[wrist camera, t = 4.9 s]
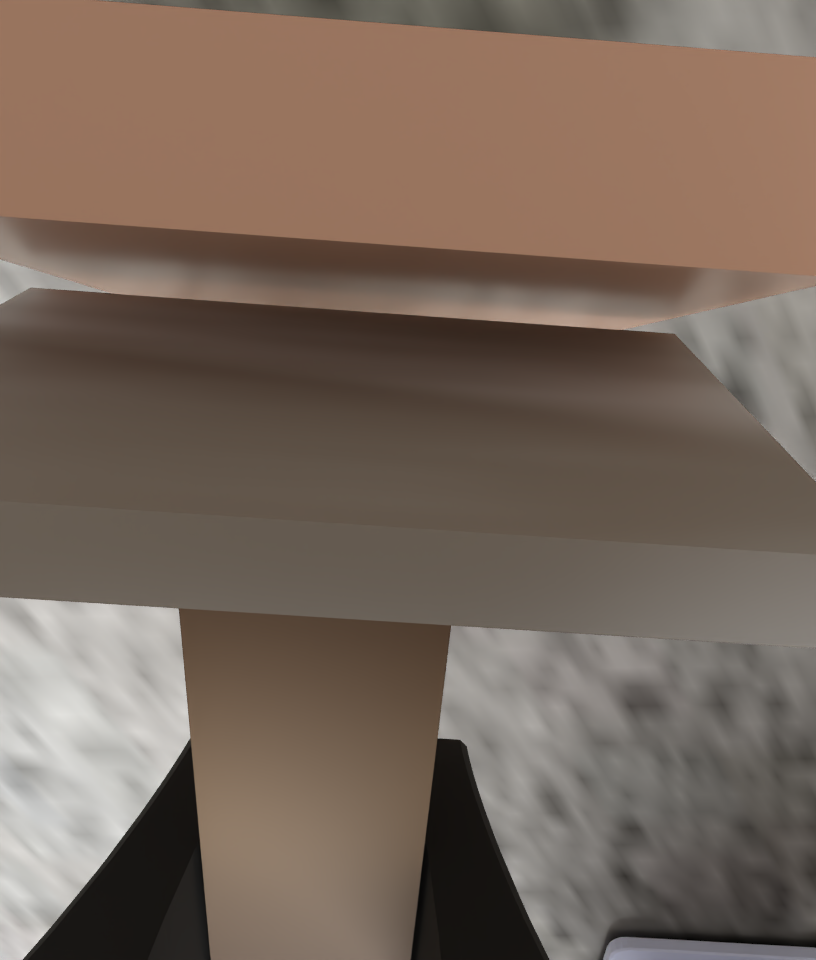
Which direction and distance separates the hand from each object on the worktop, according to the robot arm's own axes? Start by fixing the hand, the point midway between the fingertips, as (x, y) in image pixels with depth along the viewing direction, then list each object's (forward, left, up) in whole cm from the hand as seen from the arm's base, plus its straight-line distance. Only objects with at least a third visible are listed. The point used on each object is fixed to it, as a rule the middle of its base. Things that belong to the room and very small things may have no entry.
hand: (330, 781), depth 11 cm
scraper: (0, 0, -2) cm, 2 cm away
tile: (+6, 0, -6) cm, 8 cm away
